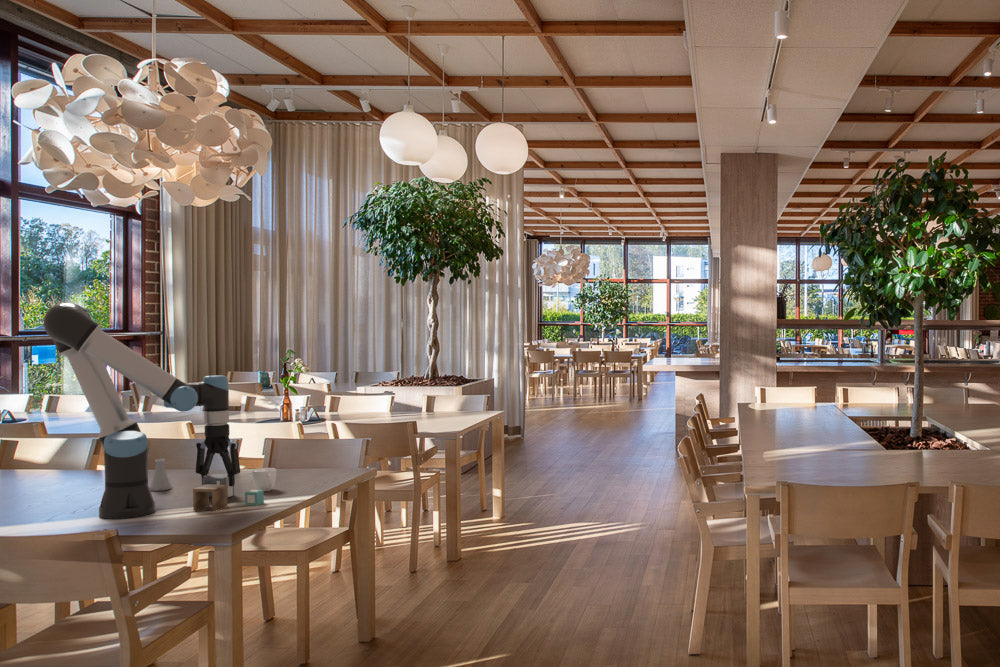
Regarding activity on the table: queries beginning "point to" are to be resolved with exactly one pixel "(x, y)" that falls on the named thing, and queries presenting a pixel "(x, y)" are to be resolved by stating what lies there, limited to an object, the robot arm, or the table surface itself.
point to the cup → (264, 478)
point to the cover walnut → (203, 496)
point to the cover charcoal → (215, 480)
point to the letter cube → (254, 497)
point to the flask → (160, 477)
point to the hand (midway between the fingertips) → (218, 495)
